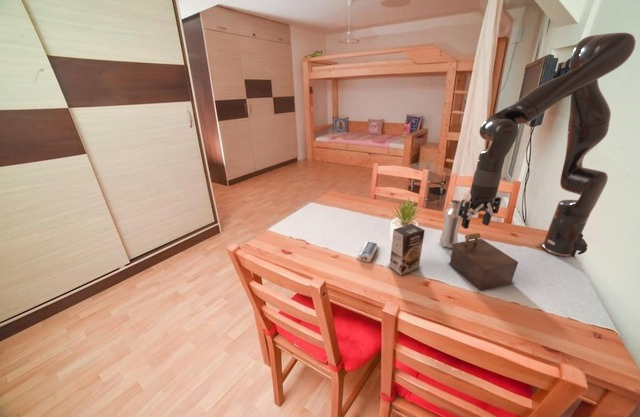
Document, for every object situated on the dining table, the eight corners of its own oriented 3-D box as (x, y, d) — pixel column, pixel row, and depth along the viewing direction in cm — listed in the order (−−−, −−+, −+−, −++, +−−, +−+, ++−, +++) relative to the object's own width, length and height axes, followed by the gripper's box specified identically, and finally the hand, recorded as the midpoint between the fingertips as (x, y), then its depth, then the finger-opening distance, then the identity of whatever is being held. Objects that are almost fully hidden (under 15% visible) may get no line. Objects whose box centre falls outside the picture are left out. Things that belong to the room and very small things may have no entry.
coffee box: (401, 275, 93) (405, 237, 87) (389, 266, 99) (392, 228, 92) (419, 267, 97) (425, 230, 90) (407, 259, 102) (411, 222, 96)
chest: (449, 264, 98) (453, 246, 95) (477, 258, 101) (482, 241, 98) (480, 290, 86) (485, 270, 82) (511, 282, 88) (517, 263, 85)
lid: (451, 245, 96) (454, 234, 94) (480, 240, 99) (483, 229, 97) (485, 270, 82) (489, 258, 80) (517, 263, 85) (522, 251, 83)
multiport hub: (377, 247, 110) (377, 243, 109) (370, 262, 101) (370, 257, 100) (366, 245, 112) (367, 241, 111) (359, 259, 103) (359, 255, 102)
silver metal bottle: (458, 250, 106) (467, 205, 98) (440, 249, 108) (448, 204, 99) (454, 242, 112) (463, 199, 104) (437, 241, 113) (444, 198, 105)
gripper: (476, 188, 81) (465, 234, 87) (513, 183, 84) (500, 228, 90) (458, 181, 87) (450, 224, 94) (494, 176, 90) (483, 218, 97)
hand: (475, 226), depth 92 cm, fingers open, 8 cm apart
